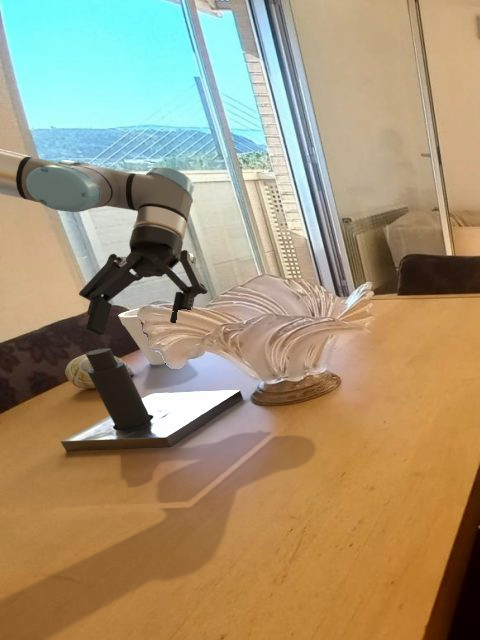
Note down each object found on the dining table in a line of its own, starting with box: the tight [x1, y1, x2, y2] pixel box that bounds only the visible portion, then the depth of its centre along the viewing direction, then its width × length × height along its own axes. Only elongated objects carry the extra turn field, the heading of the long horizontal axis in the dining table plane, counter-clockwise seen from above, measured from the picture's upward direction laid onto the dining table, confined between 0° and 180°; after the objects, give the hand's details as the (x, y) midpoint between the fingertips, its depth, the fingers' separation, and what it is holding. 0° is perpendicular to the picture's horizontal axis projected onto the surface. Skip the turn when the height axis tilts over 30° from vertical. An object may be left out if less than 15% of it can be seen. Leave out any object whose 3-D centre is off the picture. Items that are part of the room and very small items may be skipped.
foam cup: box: [118, 308, 166, 366], centre depth 118 cm, size 10×9×13 cm
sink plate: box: [60, 389, 244, 452], centre depth 90 cm, size 18×18×2 cm
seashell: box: [64, 353, 134, 390], centre depth 107 cm, size 10×10×10 cm
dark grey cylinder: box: [85, 347, 151, 430], centre depth 84 cm, size 5×5×16 cm
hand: (136, 328), depth 89 cm, fingers open, 13 cm apart
